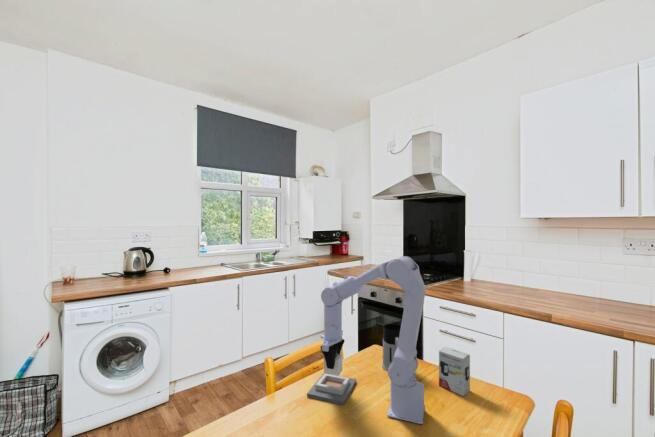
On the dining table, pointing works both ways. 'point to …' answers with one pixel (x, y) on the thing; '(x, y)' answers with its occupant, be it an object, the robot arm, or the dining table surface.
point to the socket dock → (332, 388)
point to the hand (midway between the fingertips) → (332, 365)
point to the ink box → (454, 370)
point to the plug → (337, 366)
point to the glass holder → (390, 343)
